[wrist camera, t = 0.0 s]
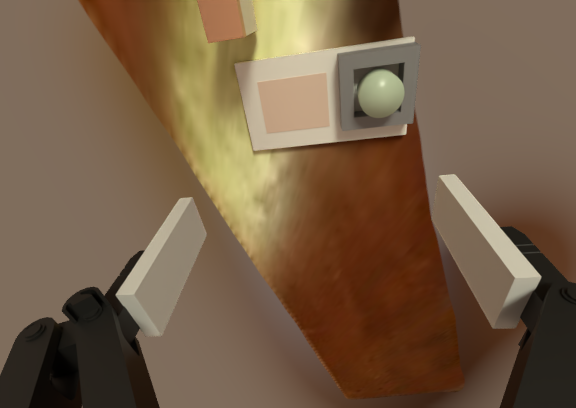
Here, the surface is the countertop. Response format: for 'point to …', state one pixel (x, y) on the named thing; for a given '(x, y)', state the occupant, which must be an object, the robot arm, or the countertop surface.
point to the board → (324, 94)
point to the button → (380, 93)
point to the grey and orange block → (227, 19)
